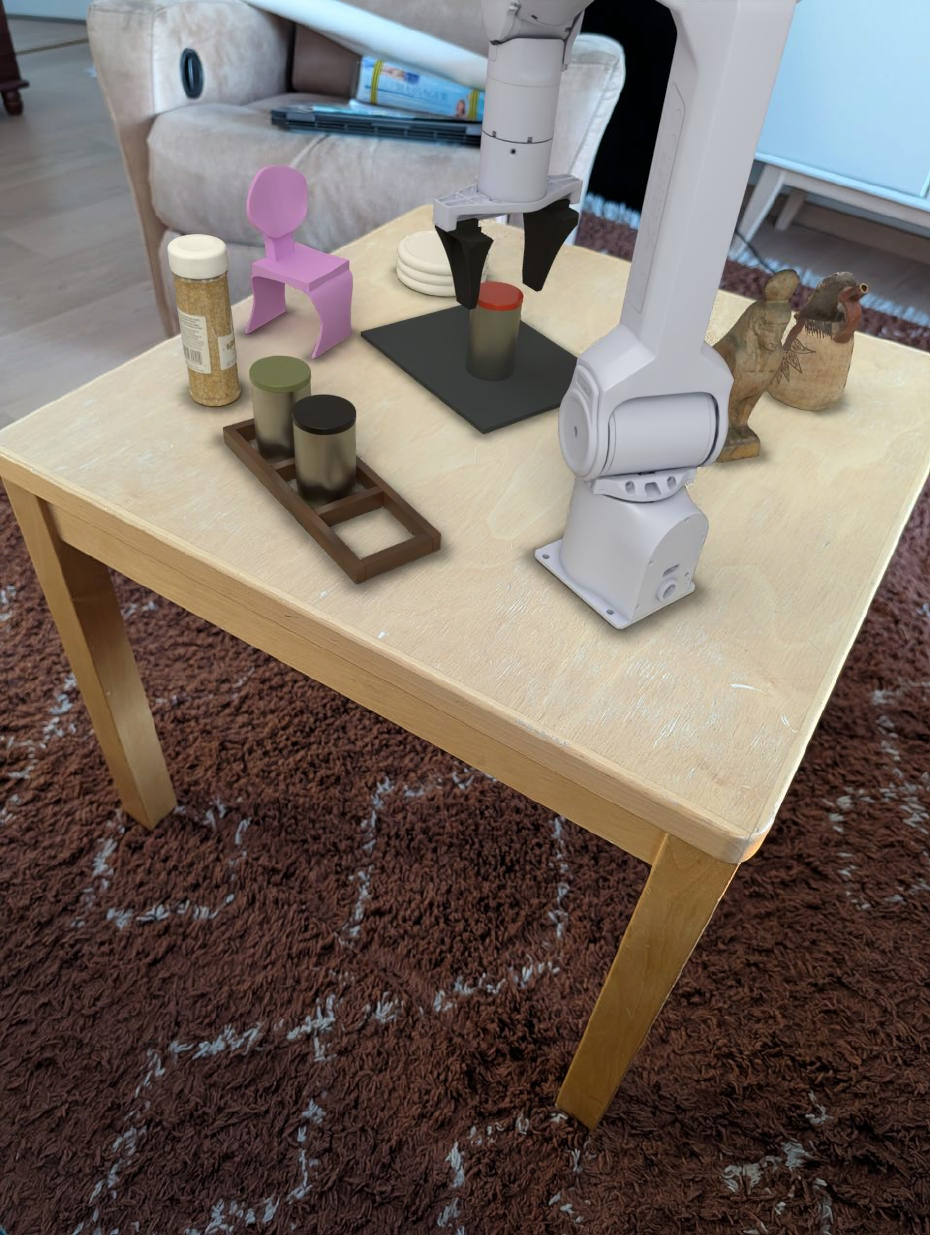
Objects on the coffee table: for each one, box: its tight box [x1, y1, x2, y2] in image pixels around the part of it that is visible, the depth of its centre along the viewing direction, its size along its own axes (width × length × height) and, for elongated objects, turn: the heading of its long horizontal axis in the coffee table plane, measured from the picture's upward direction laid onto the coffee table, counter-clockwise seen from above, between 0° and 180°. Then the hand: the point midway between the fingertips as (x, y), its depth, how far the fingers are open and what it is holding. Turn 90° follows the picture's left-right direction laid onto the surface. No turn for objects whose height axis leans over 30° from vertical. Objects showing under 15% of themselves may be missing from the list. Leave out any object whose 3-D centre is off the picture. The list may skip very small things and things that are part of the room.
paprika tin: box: [465, 281, 525, 380], centre depth 85 cm, size 5×5×8 cm
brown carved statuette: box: [711, 268, 801, 463], centre depth 78 cm, size 12×6×18 cm, turn 16°
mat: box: [360, 304, 578, 435], centre depth 90 cm, size 20×16×1 cm
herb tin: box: [248, 355, 312, 465], centre depth 74 cm, size 5×5×8 cm
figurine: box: [766, 271, 869, 412], centre depth 86 cm, size 7×7×12 cm
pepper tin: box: [292, 393, 357, 510], centre depth 70 cm, size 5×5×8 cm
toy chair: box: [244, 164, 354, 360], centre depth 85 cm, size 8×9×15 cm
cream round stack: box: [396, 229, 490, 297], centre depth 101 cm, size 10×10×4 cm
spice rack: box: [222, 417, 442, 585], centre depth 72 cm, size 21×7×2 cm, turn 37°
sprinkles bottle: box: [167, 233, 242, 407], centre depth 77 cm, size 5×5×14 cm
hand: (499, 295), depth 83 cm, fingers open, 7 cm apart
